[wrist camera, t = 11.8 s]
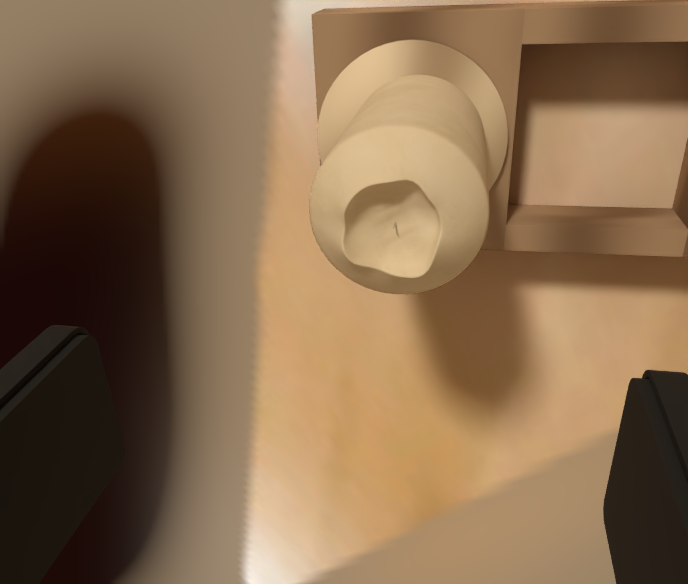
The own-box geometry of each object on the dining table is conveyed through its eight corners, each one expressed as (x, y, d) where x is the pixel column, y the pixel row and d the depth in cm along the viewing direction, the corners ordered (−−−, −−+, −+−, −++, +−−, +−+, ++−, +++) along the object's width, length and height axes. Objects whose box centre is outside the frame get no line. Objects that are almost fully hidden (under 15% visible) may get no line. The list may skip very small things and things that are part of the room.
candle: (507, 166, 27) (523, 273, 18) (392, 223, 29) (358, 343, 20) (446, 45, 25) (433, 99, 16) (329, 115, 27) (261, 195, 18)
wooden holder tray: (781, -4, 25) (815, 2, 22) (719, 235, 29) (741, 262, 27) (324, 8, 28) (310, 15, 25) (334, 223, 32) (323, 246, 30)
